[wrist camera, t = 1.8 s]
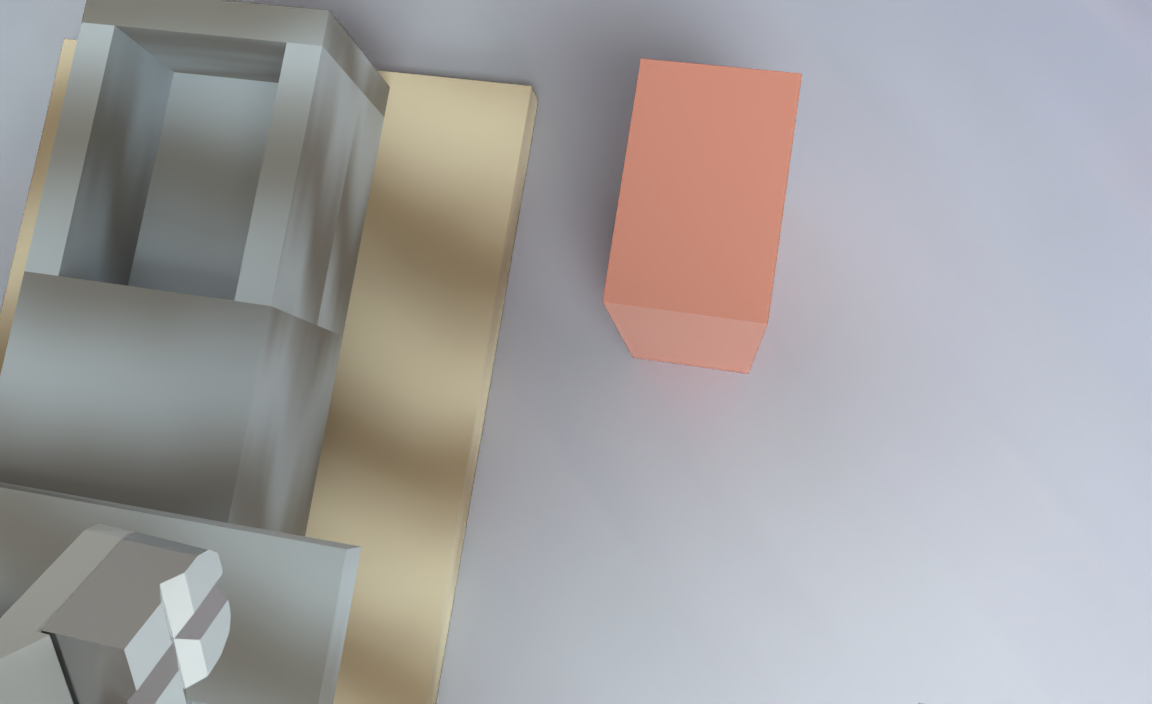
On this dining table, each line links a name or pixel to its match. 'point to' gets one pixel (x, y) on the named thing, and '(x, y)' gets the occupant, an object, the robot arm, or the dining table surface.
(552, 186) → the dining table surface
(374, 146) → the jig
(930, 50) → the dining table surface
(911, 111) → the dining table surface
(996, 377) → the dining table surface
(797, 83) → the salmon pink rectangular box
